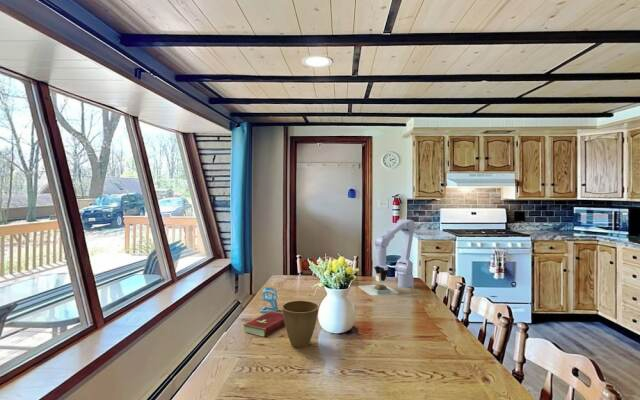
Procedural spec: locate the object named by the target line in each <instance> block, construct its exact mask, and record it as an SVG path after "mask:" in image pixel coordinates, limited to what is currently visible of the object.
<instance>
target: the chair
mask: <svg viewBox="0 0 640 400" xmlns="http://www.w3.org/2000/svg"><path fill="white" fill-rule="evenodd" d="M265 294H266V295H265ZM269 294H271V295H269ZM277 294H278V289H276V288H273V287H265V288H263V290H262V295H263V297H262V298H261V301H265V302H267V303H269V304H270V305H271V306H267V305H265V306H264V307H263V308H261V309H260V311H259V312H260V314H261V313H263V314H265V313H267V312H269V311H275V312H279V307H278V302H277V299H278V295H277ZM265 309H267V310H265Z"/></svg>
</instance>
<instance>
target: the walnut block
mask: <svg viewBox="0 0 640 400" xmlns="http://www.w3.org/2000/svg"><path fill="white" fill-rule="evenodd" d="M383 284H384V283H383ZM383 284H382V283H381V285H379V284H374V285H375V289H377V290H386V287H387V286H388V285H386V284H385V285H386V286H385V285H383Z"/></svg>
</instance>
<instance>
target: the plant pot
mask: <svg viewBox="0 0 640 400" xmlns="http://www.w3.org/2000/svg"><path fill="white" fill-rule="evenodd" d="M281 307H282V313H283V316H284V322H285V330H286V334H287V337H288V339H289V342H290V346H292V347H294V348H299V349H300V348H301V349H302V348H306V347H308V346H310V343H311V340H312V337H313V334H314V331H315V327H316V324H317V323H316V322H317V318H318V314H319V307H320V306H319V304H317V303H315V302H313V301H308V300H292V301H291V300H290V301H288V302H286V303H283V305H281Z"/></svg>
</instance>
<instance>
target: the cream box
mask: <svg viewBox="0 0 640 400" xmlns="http://www.w3.org/2000/svg"><path fill="white" fill-rule="evenodd" d="M387 276H388V275H386V279H385V281H381V274H380V273H376V272H375V281H376V282H378V283H383V282H384V283H386V282H387V280H388V279H387Z"/></svg>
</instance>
